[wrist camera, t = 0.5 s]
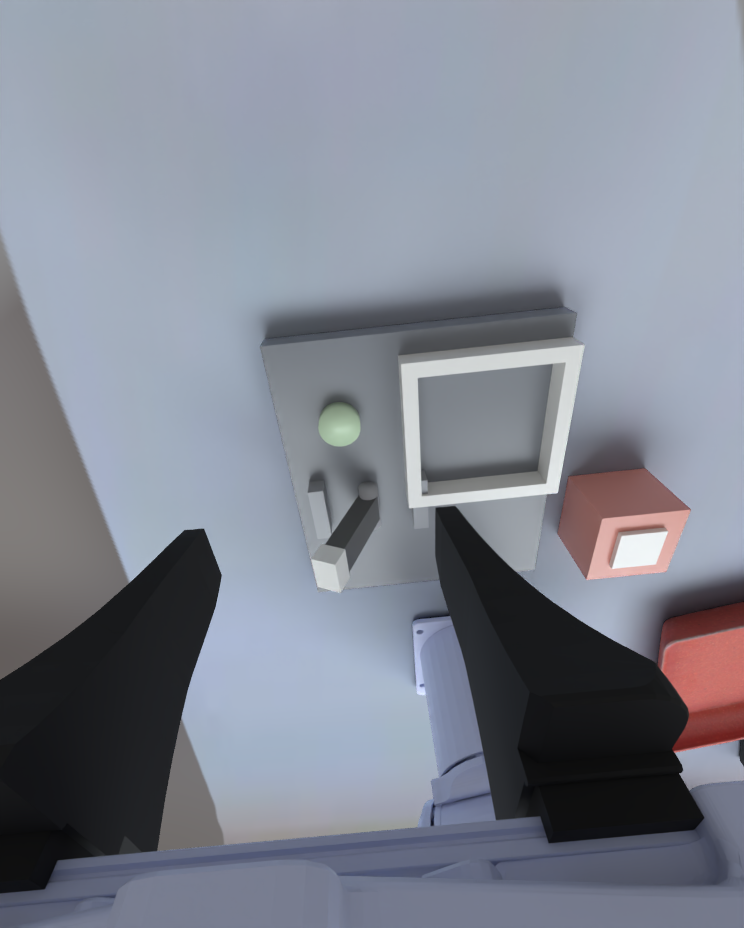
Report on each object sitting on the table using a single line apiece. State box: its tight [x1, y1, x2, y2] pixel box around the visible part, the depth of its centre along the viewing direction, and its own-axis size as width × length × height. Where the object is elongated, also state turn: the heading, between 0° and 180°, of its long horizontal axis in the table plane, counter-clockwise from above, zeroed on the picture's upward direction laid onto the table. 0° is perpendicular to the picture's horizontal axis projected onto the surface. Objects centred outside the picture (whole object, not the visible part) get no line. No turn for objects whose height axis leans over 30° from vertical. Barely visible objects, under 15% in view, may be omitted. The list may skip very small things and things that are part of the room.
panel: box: [260, 307, 585, 592], centre depth 23 cm, size 16×14×2 cm
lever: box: [311, 481, 381, 593], centre depth 21 cm, size 3×1×6 cm, turn 5°
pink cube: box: [558, 468, 691, 580], centre depth 24 cm, size 4×4×4 cm
